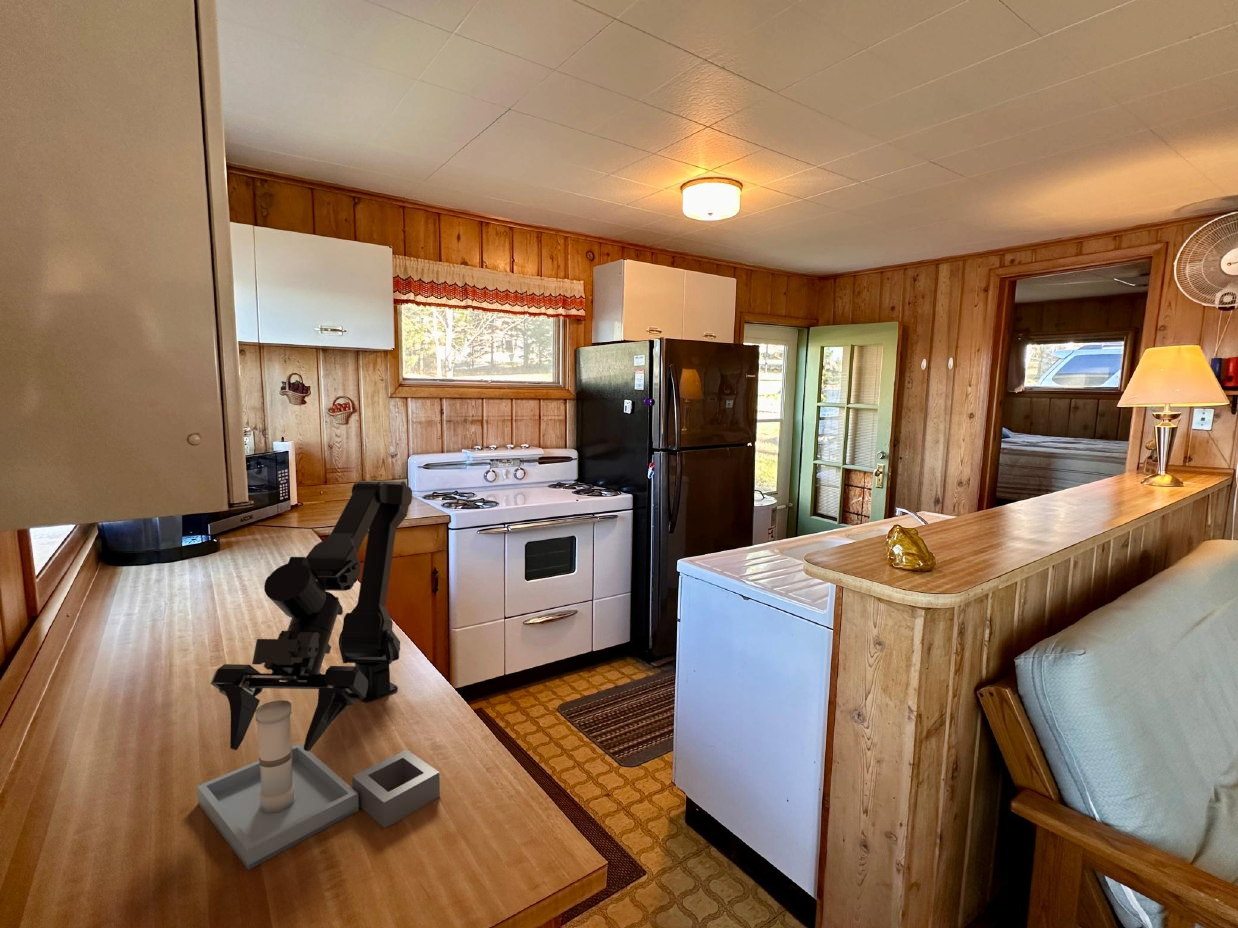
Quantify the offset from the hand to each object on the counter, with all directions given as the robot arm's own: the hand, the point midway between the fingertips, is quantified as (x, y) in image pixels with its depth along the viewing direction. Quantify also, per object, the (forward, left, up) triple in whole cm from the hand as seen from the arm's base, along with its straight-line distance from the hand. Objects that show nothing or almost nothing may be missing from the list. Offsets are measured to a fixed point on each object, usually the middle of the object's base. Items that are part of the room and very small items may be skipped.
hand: (269, 749), depth 77 cm
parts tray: (-1, +1, -9) cm, 9 cm away
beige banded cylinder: (-1, +1, -8) cm, 8 cm away
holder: (+9, +12, -9) cm, 17 cm away
